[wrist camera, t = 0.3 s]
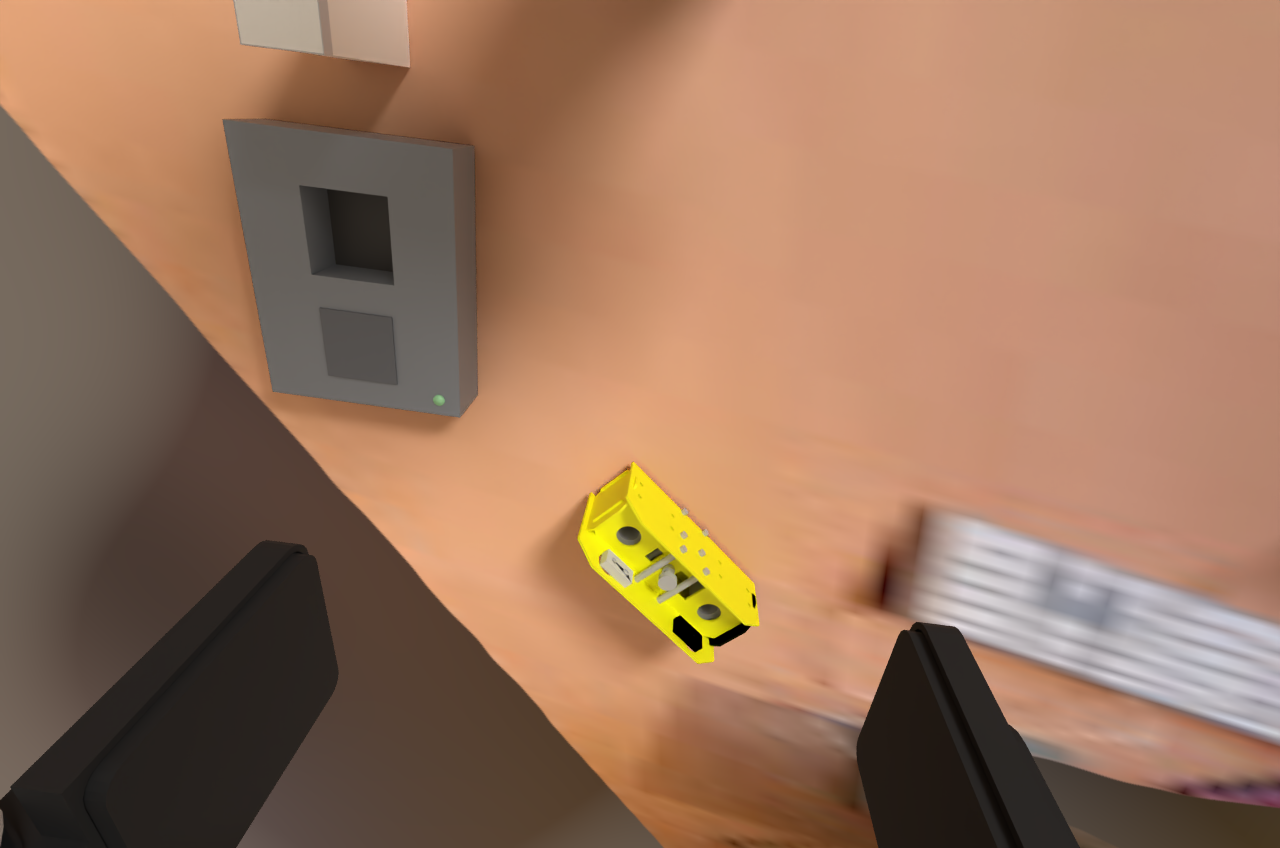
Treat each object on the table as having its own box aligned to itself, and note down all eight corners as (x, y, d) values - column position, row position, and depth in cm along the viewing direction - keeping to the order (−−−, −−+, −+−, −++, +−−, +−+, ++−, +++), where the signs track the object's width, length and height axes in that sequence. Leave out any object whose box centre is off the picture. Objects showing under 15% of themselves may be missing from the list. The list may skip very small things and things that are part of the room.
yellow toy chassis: (587, 491, 51) (568, 554, 44) (637, 454, 49) (626, 514, 42) (706, 605, 56) (707, 679, 49) (756, 575, 54) (765, 649, 47)
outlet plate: (264, 118, 40) (220, 119, 36) (474, 145, 40) (451, 149, 36) (303, 371, 48) (271, 392, 45) (477, 394, 48) (459, 418, 44)
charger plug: (339, -20, 36) (222, -63, 27) (407, -11, 36) (312, -52, 27) (346, 60, 38) (240, 44, 29) (411, 68, 38) (324, 55, 29)
